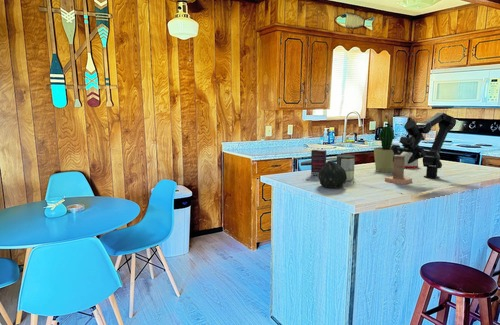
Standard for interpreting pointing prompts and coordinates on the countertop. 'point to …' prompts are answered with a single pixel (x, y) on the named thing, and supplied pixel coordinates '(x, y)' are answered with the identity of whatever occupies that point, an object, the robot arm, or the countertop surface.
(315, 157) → the supplement box
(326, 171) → the squash
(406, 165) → the knit hat
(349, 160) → the coffee can
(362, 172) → the countertop surface
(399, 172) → the walnut block
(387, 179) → the top slab
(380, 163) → the potted cactus
